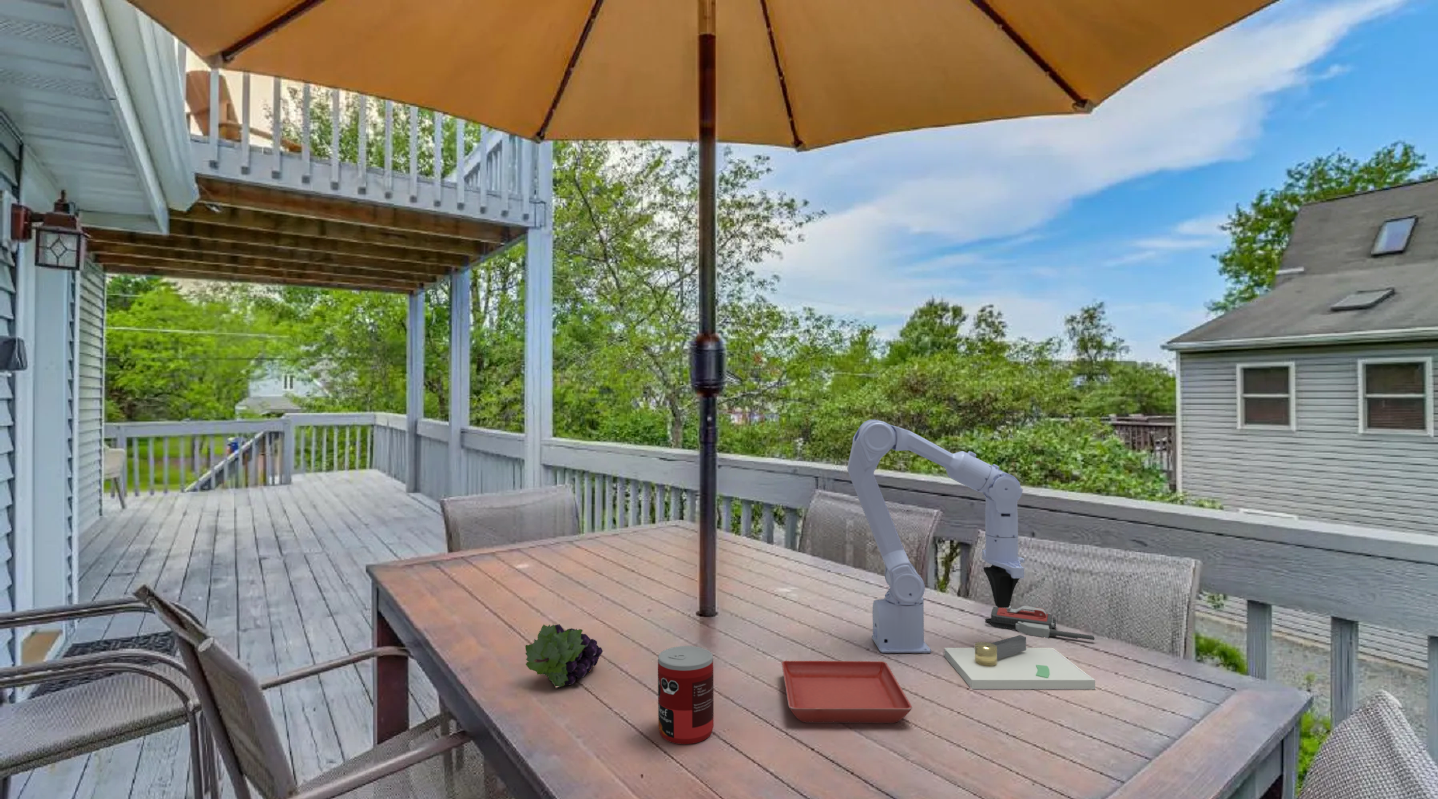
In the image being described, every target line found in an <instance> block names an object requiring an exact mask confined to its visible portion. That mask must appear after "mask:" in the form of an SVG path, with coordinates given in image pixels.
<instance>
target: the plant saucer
mask: <svg viewBox="0 0 1438 799" xmlns="http://www.w3.org/2000/svg"><path fill="white" fill-rule="evenodd" d="M781 668H782V673H783V682H784V686H785V691H786V698H787V706H788V708H789V710H790V711H791V713H792V714H793V715H794V716H795V717H796V718H797V720H799V721H800V722H802V723H829V724H830V723H835V724H836V723H837V724H838V723H840V724H841V723H842V724H843V723H845V724H846V723H848V724H849V723H850V724H852V723H853V724H854V723H857V724H859V723H861V724H863V723H864V724H869V723H870V724H872V723H873V724H896V723H898V722H900V721H901V720H902V719H903V718H905V717H906V716H907V715H908V714H909V713H910V712H911V711H912V710H913V705H912V704H911V702H910V701H909V698H908V697H907V696H906V693H905V692H904V690H903V688H902V687H901V685H900V684H899V681H898V680H897V678H896V677H895V675H894V673H893V671H892V669H891V668H890V666H889V665H888V663H887V662H886V661H881V660H880V661H879V660H878V661H877V660H871V661H870V660H865V661H864V660H783V661H781Z"/></svg>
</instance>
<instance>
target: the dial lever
mask: <svg viewBox="0 0 1438 799" xmlns="http://www.w3.org/2000/svg"><path fill="white" fill-rule="evenodd" d="M974 648H975V661H976V662H977V663H980V664H983V665H996V664H997V659H998V658H1002V657H1005V656H1008V655H1012V654H1015V653H1019V652H1022V651H1025V650H1026V648H1027V637H1026V636H1024V635H1021V634H1020V635H1014V636H1012V637H1008V638H1005V639H1001V640H1000V639H999V640H996V641H993V642H988V641H987V642H986V641H978V642H975V643H974Z"/></svg>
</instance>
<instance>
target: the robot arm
mask: <svg viewBox="0 0 1438 799" xmlns="http://www.w3.org/2000/svg"><path fill="white" fill-rule="evenodd" d="M851 444H852V445H851V449H850V454H849V458H848V463H847V474H848V476H849V479H850V481H851V483H852V486H853V488H854V490H855V493H856V496H857V498H858V501H859V503H860V506H861V508H862V510H863V513H864V515H865V518H866V521H867V523H868V526H869V528H870V531H871V534H872V536H873V538H874V541H875V543H876V545H877V546H876V547H877V548H878V551H879V553H880V555H881V559H882V561H883V564H884V568H885V570H884V579H885V582H886V584H887V586H888V587H889V589H887V591H886V593H885V594H884V598H881V599H874V600H873V603H872V635H871V638H872V640H873V642H874V644H875V645H876V647H877V648H878V651H879V652H880V653H882V654H883V653H887V654H888V653H889V654H890V653H891V654H892V653H893V654H894V653H895V654H897V653H898V654H900V653H902V654H903V653H908V654H909V653H911V654H912V653H921V654H922V653H925V654H926V653H928V654H930V653H931V652H932V650H931V648H930V647H929V646H928V644H927V643H926V642H925V635H924V634H925V627H924V626H925V618H924V617H925V616H924V613H925V610H924V609H925V608H924V607H925V606H924V602H925V600H924V597H923V596H924V594H925V590H926V586H925V581H924V580H923V578H922V577H921V575H919V573H918V572H917V570H916V568H915V566H914V564H912V563H911V562H910V558H909V556H908V554H907V553H906V550H905V549H904V546H903V543H902V541H901V538H900V535H899V534H898V531H897V528H896V526H895V524H894V523H895V522H894V521H893V519H892V516H891V514H890V511H889V508H888V505H887V503H886V502H885V498H884V496H883V494H882V490H881V489H880V486H879V484H878V481H877V479H876V477H875V471H876V469H877V467H878V466H879V463H880V461H881V459H882V458H883V457H884V456H885V455H886V454H888V453H889V452H890V450H893V451H895V452H900V451H903V452H904V451H910V452H912V453H914V454H916V455H918V456H920V457H922V458H924V459H926V460H929V461H931V462H932V463H935V464H936V465H939V466H942V467H943V468H944V469H945V472H946V474H947V477H948V478H949V479H951V480H954V481H955V482H958V484H961V485H962V486H965V487H967V488H969V489H971V490H973V491H975V492H977V493H982V494H983V496H984V497H985V510H984V515H985V516H984V520H985V521H984V526H985V527H984V528H985V530H984V532H985V533H984V534H985V539H984V540H985V542H984V543H985V549H982V550H981V559H982V561H984V562H985V563H986V564H989V565H990V566H984V567H983V568H982V569H983V571H984V574H985V575H986V578H987V580H988V582H989V584H990V589H991V592H992V597H993V601H994V605H995V607H998V608H1009V606H1011V602H1012V598H1013V594H1014V591H1015V588H1016V586H1017V584H1018V582H1019V580H1020V579H1025V567H1024V566H1022V564H1024V563H1026V561H1025V558H1023V557H1021V556H1019V512H1018V501H1020V499H1021V497H1022V495H1023V492H1024V491H1023V490H1024V489H1023V488H1022V487H1021V483H1020V481H1019V480H1018V478H1017V477H1015V476H1014V475H1013V474H1011V473H1008V472H1005V471H1003V470H1002V469H1000V466H998V465H997V464H995V463H993V464H990V463H988V462H985V461H983V460H981V459H980V458H977V454H976V453H975V452H973V451H970V450H969V451H968V452H966V451H963V450H961V451H957V452H955V453H952V452H951V451H949V450H947V449H945V448H943V447H941V446H939V445H937V444H935V443H934V442H932V441H930V440H928V439H926V438H924V437H922V436H921V435H919V434H916V433H915V432H913V431H911V430H908V429H906V428H902V427H899V426H895V425H893V424H889V423H888V422H886V421H883V420H878V419H868V420H866V421H864V422H863V423H862V424H860V426H859V427H858V429H857V431H856V432H855V434H854V436H853V437H852V443H851Z"/></svg>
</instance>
